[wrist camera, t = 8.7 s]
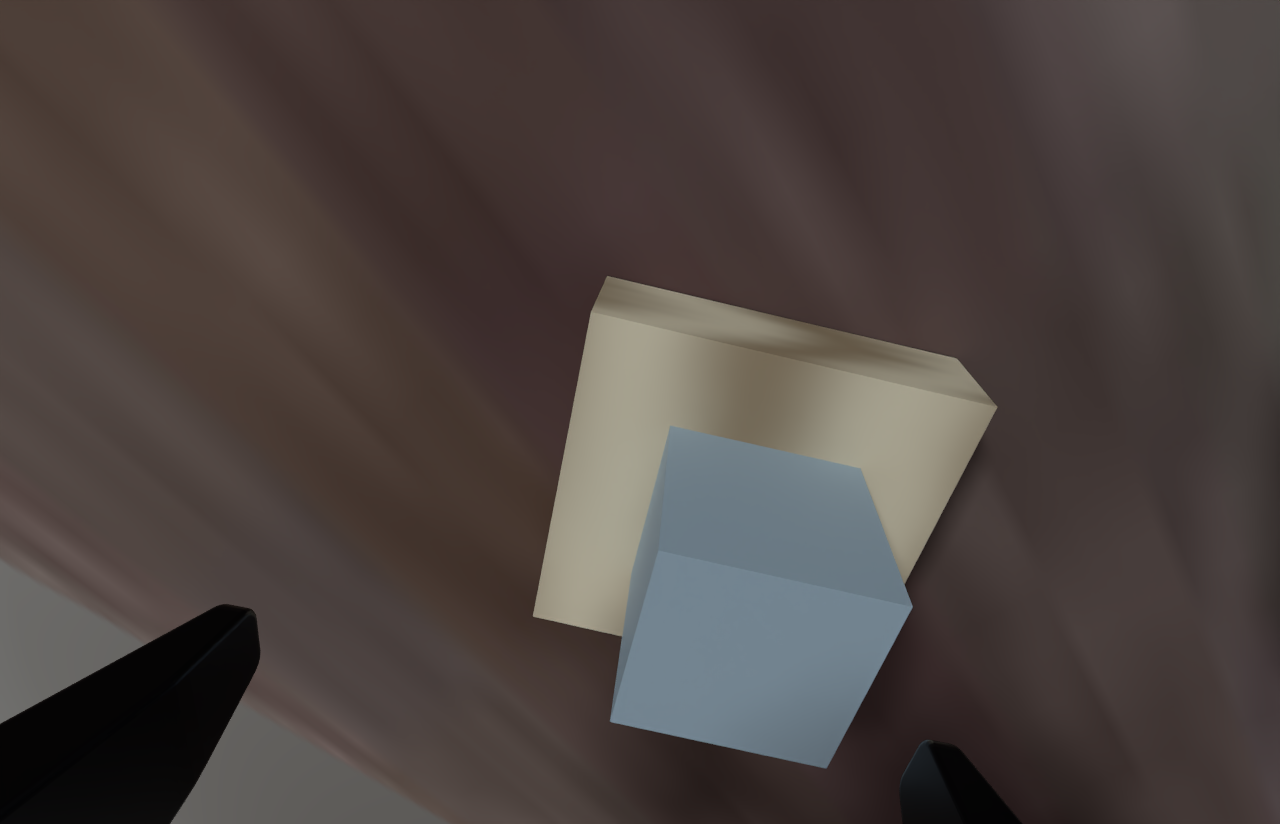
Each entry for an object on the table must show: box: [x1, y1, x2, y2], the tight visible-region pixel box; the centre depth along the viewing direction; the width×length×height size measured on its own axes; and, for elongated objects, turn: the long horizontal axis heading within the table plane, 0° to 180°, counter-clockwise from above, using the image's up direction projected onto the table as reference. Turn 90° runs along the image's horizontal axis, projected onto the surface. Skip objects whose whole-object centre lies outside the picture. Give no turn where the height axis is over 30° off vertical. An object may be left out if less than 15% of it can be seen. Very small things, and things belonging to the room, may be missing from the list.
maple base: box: [533, 276, 997, 636], centre depth 20 cm, size 10×10×3 cm
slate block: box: [610, 426, 913, 768], centre depth 16 cm, size 5×5×5 cm
